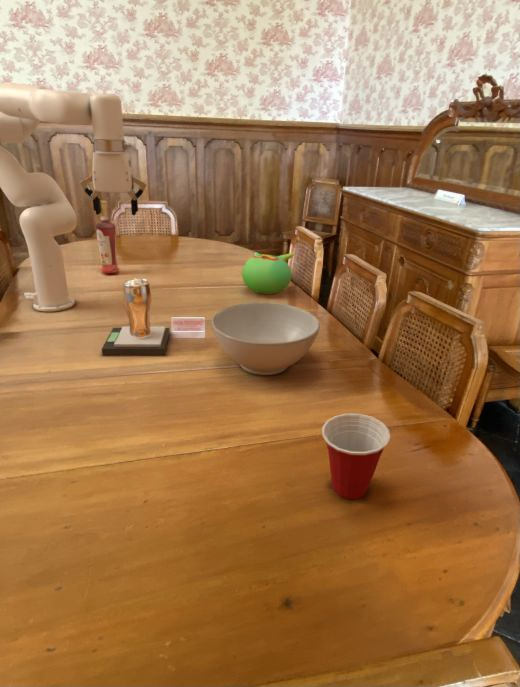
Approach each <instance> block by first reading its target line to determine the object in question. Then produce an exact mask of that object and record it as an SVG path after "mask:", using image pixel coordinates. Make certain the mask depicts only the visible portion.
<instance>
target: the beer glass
mask: <svg viewBox="0 0 520 687" xmlns="http://www.w3.org/2000/svg"><path fill="white" fill-rule="evenodd" d="M122 284H123V301H124V307H125V311H126V315H127V317H128V321H129V326H130V330H129V336H130V337H131V338H133V339H145V338H148V337H150V336H151V335H152V331H151V327H150V326H151V323H150V322H151V321H150V320H151V308H152V292H151V286H150V280H148V279H144V278H130V279H126V280H124V281H123V283H122Z"/></svg>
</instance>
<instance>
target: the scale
mask: <svg viewBox="0 0 520 687" xmlns="http://www.w3.org/2000/svg"><path fill="white" fill-rule="evenodd" d="M150 327H151V331H152V335H151V336H150V337H148V338H145V339H133V338H131V337H130V336H129V330H130V325H129V326H127V325H126V326H125V325H124V326H122V327H113V328H112V329H111V331H110V333H109V335H108V336H107V338H106V340H105V342H104V344H103V345H102V347H101V353H102V354H101V355H102V356H165V354H166V350H167V347H168V343H169V339H170V335H171V330H170V327H167V326H164V325H163V326H162V325H161V326H152V325H150Z"/></svg>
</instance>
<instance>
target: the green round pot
mask: <svg viewBox="0 0 520 687" xmlns="http://www.w3.org/2000/svg"><path fill="white" fill-rule="evenodd" d="M294 256H295V253H294V252H293V253H292V252H291V253H287V254H286V253H285V254H280V255H273V254H263V253H262V254H260V253H259V252H255V253H254V255H253V257H250V258H249V259H248V260H247V261H246V262H245V263H244V264H243V267H242V270H241V278H242V281H243V283H244V285H245V286H246V287H247V288H248V289H250V290H251V291H253V292H255V293H258V294H263V295H274V294H278V293H281V292H283V291H284V290H286V289H287V288H288V286H289V285H290V284H291V283H290V282H291V280H292V270H291V267H290V265H289V263H288V262H287V261H288V260H289V259H291V258H293V257H294Z"/></svg>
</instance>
